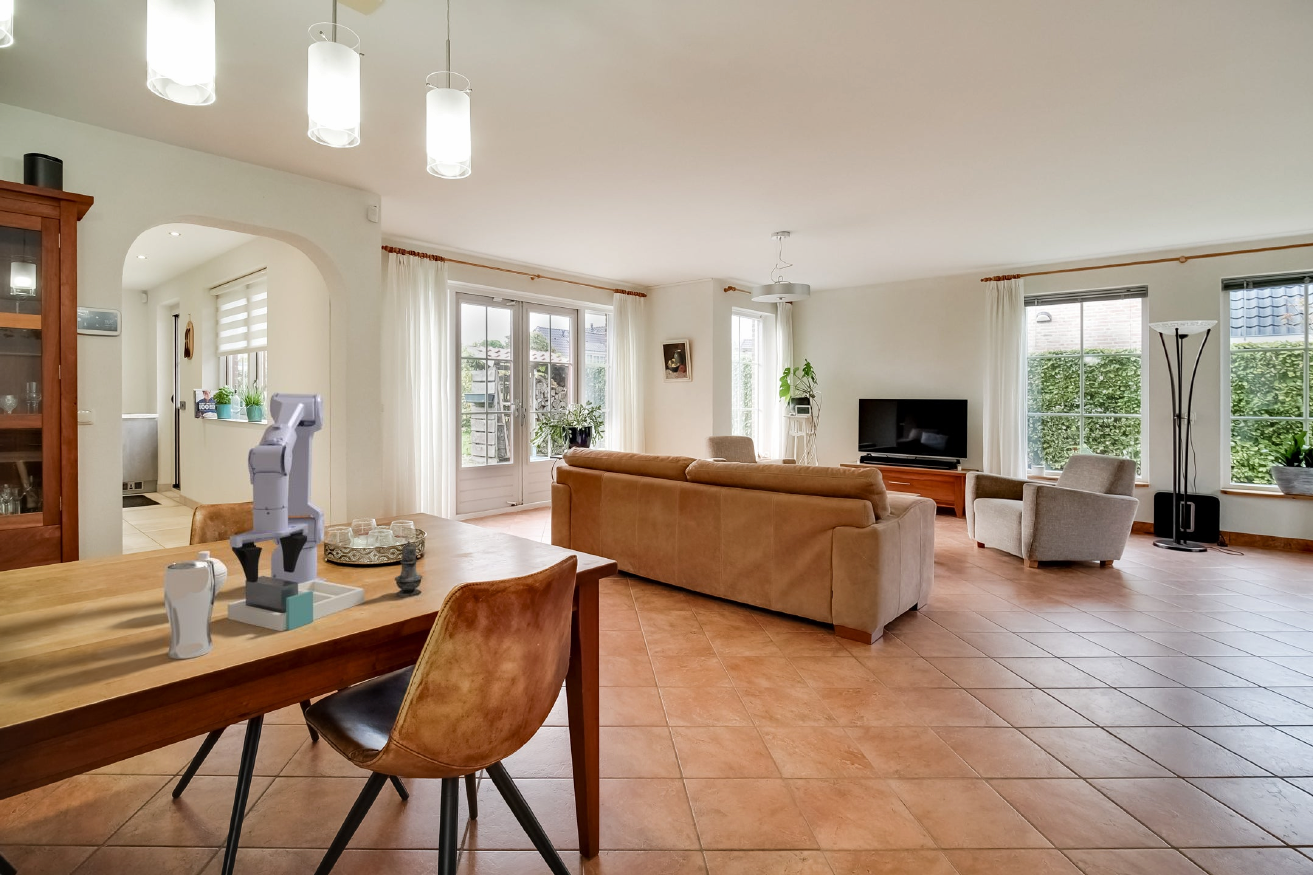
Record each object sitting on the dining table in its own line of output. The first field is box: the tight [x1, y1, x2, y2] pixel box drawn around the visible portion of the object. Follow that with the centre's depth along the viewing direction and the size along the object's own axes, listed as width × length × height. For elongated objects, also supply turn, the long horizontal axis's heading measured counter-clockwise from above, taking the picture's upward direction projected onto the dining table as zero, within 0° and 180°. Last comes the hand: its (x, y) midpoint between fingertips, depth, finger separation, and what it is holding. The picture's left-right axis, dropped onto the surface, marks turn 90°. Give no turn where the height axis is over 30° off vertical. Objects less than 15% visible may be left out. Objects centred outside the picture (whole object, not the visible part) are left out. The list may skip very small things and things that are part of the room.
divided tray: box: [227, 580, 366, 632], centre depth 128 cm, size 16×19×6 cm
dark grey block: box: [245, 575, 298, 614], centre depth 122 cm, size 10×4×7 cm, turn 68°
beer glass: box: [163, 559, 216, 660], centre depth 106 cm, size 7×7×15 cm
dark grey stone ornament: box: [394, 540, 424, 598], centre depth 141 cm, size 6×6×12 cm
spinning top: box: [195, 550, 228, 597], centre depth 126 cm, size 8×8×12 cm
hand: (271, 576), depth 122 cm, fingers open, 7 cm apart
